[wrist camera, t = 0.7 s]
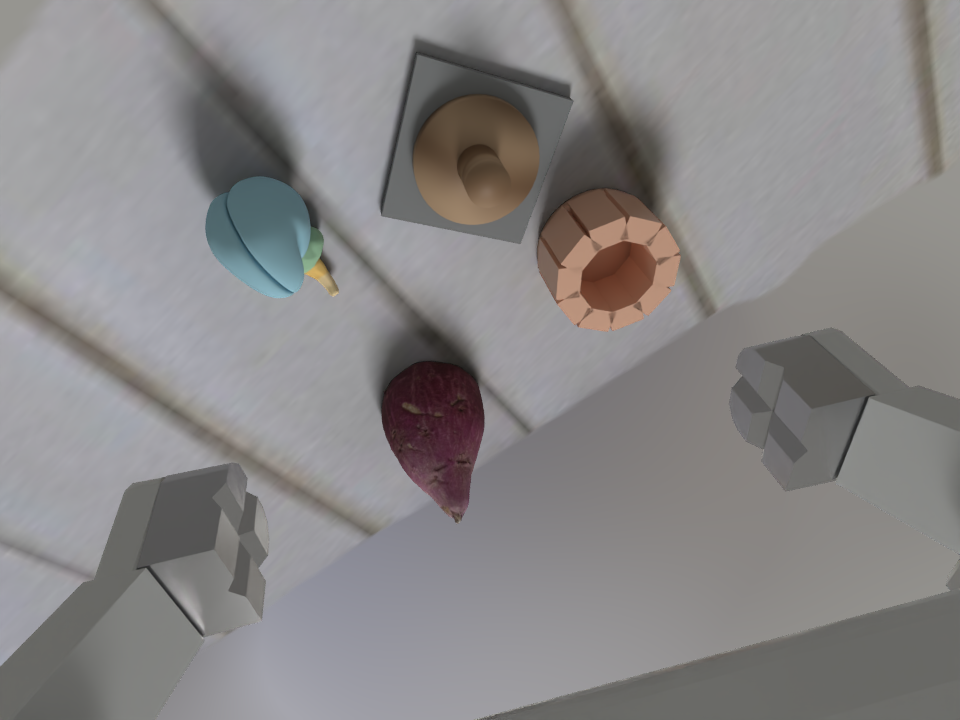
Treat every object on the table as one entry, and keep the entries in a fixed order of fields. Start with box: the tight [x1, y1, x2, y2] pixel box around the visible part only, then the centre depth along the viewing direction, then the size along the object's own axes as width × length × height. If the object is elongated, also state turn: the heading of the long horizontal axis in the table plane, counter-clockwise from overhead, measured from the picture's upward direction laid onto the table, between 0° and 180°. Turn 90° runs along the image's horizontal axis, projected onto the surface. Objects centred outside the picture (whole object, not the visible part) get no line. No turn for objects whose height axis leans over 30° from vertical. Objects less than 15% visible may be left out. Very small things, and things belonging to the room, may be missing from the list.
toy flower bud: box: [205, 176, 339, 298], centre depth 44 cm, size 7×9×12 cm
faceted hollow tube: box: [537, 188, 681, 332], centre depth 52 cm, size 10×11×6 cm
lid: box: [412, 94, 540, 225], centre depth 44 cm, size 10×10×5 cm
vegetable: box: [382, 361, 484, 523], centre depth 58 cm, size 10×10×15 cm
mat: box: [381, 52, 573, 244], centre depth 46 cm, size 12×12×1 cm
